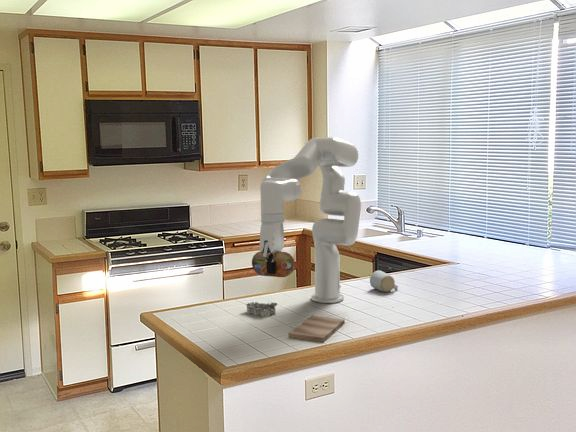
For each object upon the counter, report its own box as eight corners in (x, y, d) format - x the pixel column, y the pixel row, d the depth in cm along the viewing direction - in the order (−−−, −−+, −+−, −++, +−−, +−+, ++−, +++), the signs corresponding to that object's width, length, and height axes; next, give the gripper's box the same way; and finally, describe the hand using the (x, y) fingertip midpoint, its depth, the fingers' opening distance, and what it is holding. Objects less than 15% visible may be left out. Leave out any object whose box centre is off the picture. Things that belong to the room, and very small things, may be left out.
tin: (251, 274, 214) (250, 250, 213) (256, 272, 217) (255, 248, 215) (292, 278, 208) (291, 253, 206) (296, 276, 211) (295, 251, 209)
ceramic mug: (381, 294, 253) (381, 275, 252) (369, 289, 260) (369, 271, 259) (402, 291, 258) (402, 272, 257) (390, 286, 265) (390, 268, 264)
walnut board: (312, 319, 222) (312, 315, 222) (344, 323, 217) (344, 319, 217) (288, 337, 204) (288, 332, 204) (323, 342, 199) (323, 337, 199)
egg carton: (278, 314, 230) (278, 303, 229) (264, 319, 224) (264, 307, 224) (258, 308, 237) (257, 297, 236) (243, 312, 231) (243, 302, 231)
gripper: (272, 214, 218) (273, 266, 221) (251, 221, 204) (252, 277, 206) (292, 215, 215) (293, 268, 218) (272, 222, 201) (273, 279, 203)
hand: (273, 271), depth 212 cm, fingers closed on tin, 2 cm apart
